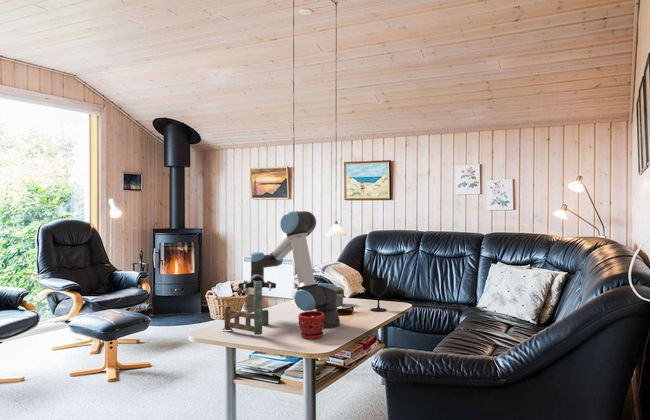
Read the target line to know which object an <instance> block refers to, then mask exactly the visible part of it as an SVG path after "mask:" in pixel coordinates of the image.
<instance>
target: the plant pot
mask: <svg viewBox="0 0 650 420" xmlns="http://www.w3.org/2000/svg"><path fill="white" fill-rule="evenodd" d="M297 317H298V325H299V329H300V336H301V337H302V338H304V339H307V340H314V339H315V340H316V339H317V338H318V339H320V338H322V337H323V335H324V331H323V329H324V328H323V327H324V313H323V312H319V311H316V310H312V311H303V312H300V313H298V316H297Z"/></svg>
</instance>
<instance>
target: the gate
mask: <svg viewBox="0 0 650 420" xmlns="http://www.w3.org/2000/svg"><path fill="white" fill-rule="evenodd" d="M223 308H224V310H223V311H224V315H223V316H224V317H223V318H224V328H225V329H229V328H232V329H235V330H242V331H245V332H246V331H247V332H251V333H253V334H254V335H255V336H257V335H258V336H261V335H262V334H263V326H262V310H263V288H262V282H261V281H255V282H254V288H253V310H254V311H253V312H246V311H241V310H235V309H231V305H224V307H223ZM231 316H233V319H234V322H231ZM240 318H245V323H244V324H243V323H240ZM251 320H253V324H254V325H251V323H252V321H251Z"/></svg>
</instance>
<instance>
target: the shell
mask: <svg viewBox="0 0 650 420" xmlns="http://www.w3.org/2000/svg"><path fill="white" fill-rule="evenodd" d="M336 287H337V294H343V298H344V297H345V291H344V289H343V287H342V286H341V287H340V286H336Z"/></svg>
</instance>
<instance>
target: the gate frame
mask: <svg viewBox="0 0 650 420" xmlns="http://www.w3.org/2000/svg"><path fill="white" fill-rule="evenodd" d="M263 326H269V310H268V309H262V327H263ZM223 330H232V331H233V328H229V329H225V327H224V328H222V331H223Z"/></svg>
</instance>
